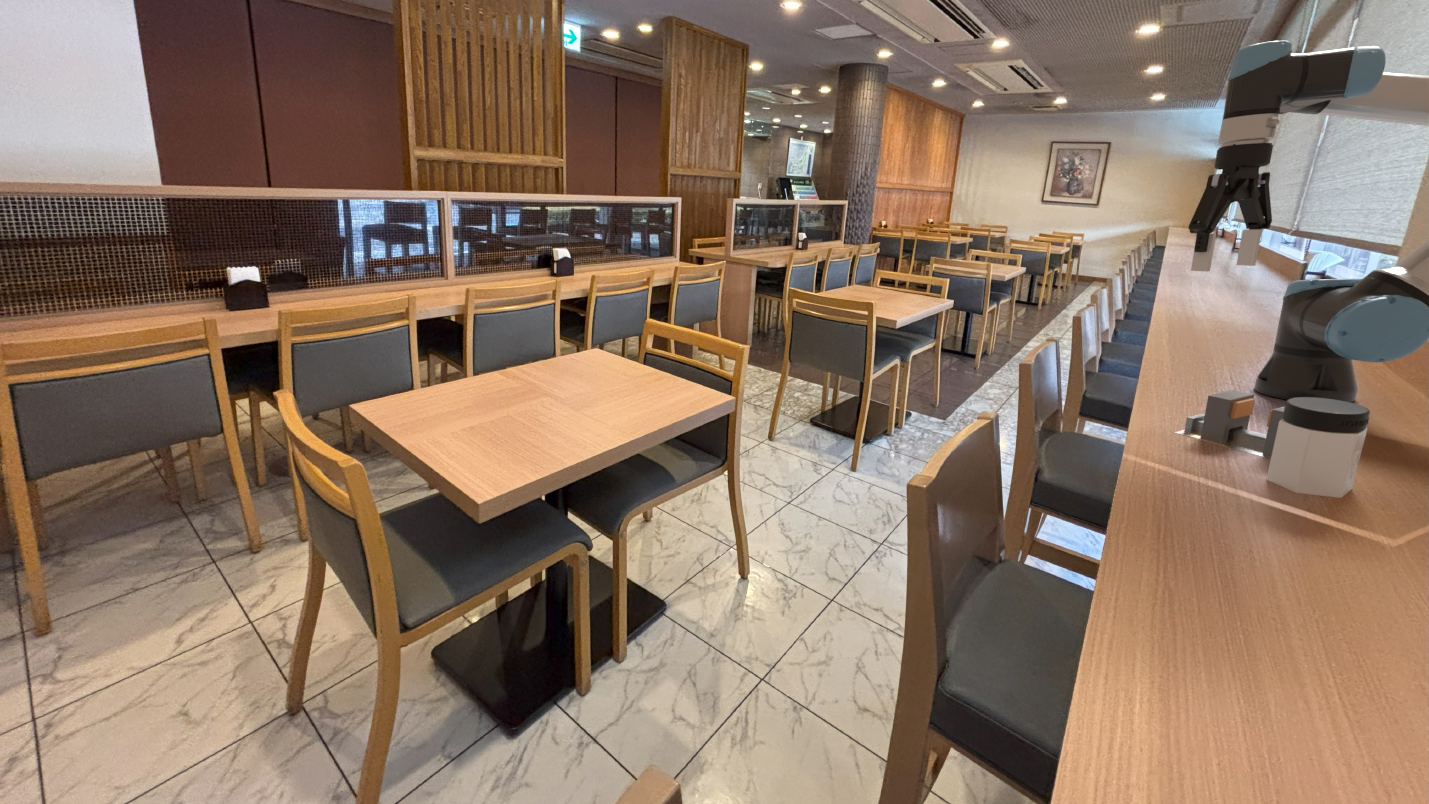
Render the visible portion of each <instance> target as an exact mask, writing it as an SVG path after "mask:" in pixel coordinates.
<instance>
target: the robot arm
mask: <svg viewBox="0 0 1429 804" xmlns="http://www.w3.org/2000/svg"><path fill="white" fill-rule="evenodd" d="M1292 45H1293V44H1292V42H1291V41H1289V40H1273V41H1270V40H1269V41H1266V42H1259V43H1254V44H1250V45H1247V46H1245V47H1243V48H1241V49H1239V50H1238V51H1237V52H1236V53H1235V54H1234V55H1233V58H1232V63H1231V67H1230V70H1229V75H1228V78H1227V87H1226V97H1225V102H1224V109H1223V110H1224V111H1223V116H1222V120H1221V125H1220V131H1219V136H1218V137H1219V138H1218V141H1217V142H1218V145H1221V147H1219V148H1218V149H1217V150H1216V156H1215V163H1214V169H1215V170H1218V171H1221V170H1222V172H1221V173H1213V174H1209V175H1208V178H1207V181H1206V186H1205V189H1204V192H1203V193H1202V196H1201V198H1200V201H1199V203H1198V205H1197V207H1196V209H1195V211H1194V214H1193V216H1192V218H1191V221H1190V222H1189V224H1188V230H1189V233H1190V234H1196V238H1195V242H1194V243H1195V244H1194V249H1193V255H1192V262H1191V267H1190V271H1191V272H1211V267H1212V262H1213V261H1212V260H1213V257H1214V256H1213V255H1214V251H1215V250H1214V249H1215V243H1216V237H1217V233H1216V232H1214V230H1215V229H1216V227H1217V226H1218V225H1219V223H1220V221H1221V219H1222V218H1223V217H1224V215H1225V214H1226V212H1227V211H1228V209H1229V207H1230V206H1231V205H1232V203H1235V202H1237V203H1238V205H1239V208H1240V211H1241V214H1242V218H1243V220H1244V224H1245V228H1246V229H1242V232H1241V236H1240V237H1241V238H1240V244H1239V248H1238V253H1237V254H1238V255H1237V260H1236V265H1235V266H1245V267H1247V266H1249V267H1251V266H1252V267H1254V266H1257V265H1256V264H1257V258H1258V253H1259V248H1260V244H1261V243H1260V242H1261V237H1262V232H1263V230H1265V229H1266V230H1268V229H1270V227H1271V224H1272V223H1273V216H1272V205H1271V204H1272V203H1271V195H1270V194H1271V193H1270V178H1271V172H1270V171H1267V172H1266V171H1264V172H1260V170H1259V169H1260V168H1261V167H1267V166H1269V164H1270V163H1271V159H1272V154H1273V148H1274V144H1273V143H1271V142H1270V140H1273V139H1274V138H1275V135H1276V130H1277V125H1279V124H1280V120H1279V115H1284V114H1287V113H1292V114H1293V113H1294V114H1304V115H1305V114H1306V115H1319V116H1327V117H1328V116H1329V117H1338V118H1346V119H1347V118H1348V119H1358V120H1369V121H1376V122H1378V121H1379V122H1385V123H1394V124H1395V123H1396V124H1405V125H1414V126H1426V127H1429V75H1423V74H1421V75H1420V74H1413V73H1412V74H1410V73H1398V72H1396V73H1395V72H1387V71H1386V72H1385V67H1386V66H1385V65H1386V63H1387V62H1386V53H1385V51H1384V49H1383V48H1382V47H1380V46H1378V45H1377V46H1376V45H1372V46H1370V45H1369V46H1357V45H1356V46H1355V45H1354V46H1353V47H1346V48H1339V49H1338V48H1337V49H1331V50H1322V51H1314V52H1313V51H1312V52H1304V53H1303V52H1301V53H1296V52H1295V53H1293V49H1292V47H1293V46H1292ZM1213 232H1214V233H1213ZM1280 310H1281V311H1280V316H1279V321H1278V325H1277V326H1278V327H1277V331H1276V335H1275V340H1274V341H1275V342H1274V346H1273V349H1272V350H1273V351H1272V353H1271V355H1270V357H1269V358H1268V360H1267V362H1266V363H1265V364H1264V366H1263V368H1262V369H1261V370H1260V372H1259V374H1258V375H1257V376H1256V379H1255V383H1254V388H1253V389H1254V391H1256V392H1258V393H1260V394H1262V395H1266V396H1268V397H1272V398H1278V399H1280V400H1281V399H1282V400H1286V401H1287V400H1288V399H1291V398H1298V397H1315V398H1326V399H1334V400H1341V401H1346V402H1351V403H1354V402H1355V401H1356V398H1357V395H1358V391H1359V388H1358V383H1357V378H1356V373H1355V368H1354V363H1353V361H1360V362H1365V363H1386V362H1387V363H1388V362H1392V361H1395V360H1399V359H1402V358H1405V357H1406V356H1409V355H1412V354H1413V353H1414V352H1416V351H1418V350H1419V349H1420V348H1421V347H1423V346H1424V345H1425V344H1426V343H1427V341H1428V340H1429V238H1428V239H1426V240H1425V241H1424V242H1423V243H1421V244H1419V246H1418V247H1416V248H1415V249H1414V250H1412V251H1411V252H1410V253H1408V255H1406V256H1405V257H1404V258H1402V259H1401V260H1400V261H1399V262H1397V263H1396V264H1395V265H1393V266H1392V267H1387V268H1378V269H1373V270H1372V271H1371V272H1369V273H1368V274H1367V275H1365V276H1364V277H1363V278H1331V279H1329V278H1327V279H1325V278H1324V279H1297V280H1294V281H1291V282H1290V283H1289V284H1288V285H1287V287H1286V290H1285V293H1284V295H1283V297H1282V305H1281V309H1280Z"/></svg>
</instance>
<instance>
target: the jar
mask: <svg viewBox="0 0 1429 804" xmlns="http://www.w3.org/2000/svg"><path fill="white" fill-rule="evenodd" d="M1284 406H1285V409H1284V413H1283V419H1282V420H1280V421H1279V424H1278V429H1277V433H1276V438H1275V442H1274V447H1273V451H1272V456H1271V459H1269V460H1270V461H1269V466H1268V470H1267V475H1266V481H1268V482H1271V483H1273V484H1276V485H1277V486H1280V487H1282V488H1284V489H1286V490H1290V491H1292V492H1293V493H1295V494H1304V495H1312V496H1321V497H1328V498H1338V499H1341V498H1342V499H1343V497H1344V496H1346V495H1347V494H1348V493H1349V492H1350V491H1352V490H1353V485H1354V482H1355V479H1356V474H1357V471H1358V468H1359V467H1358V466H1359V463H1360V459H1361V456H1362V451H1363V448H1364V444H1365V441H1366V437H1367V432H1368V427H1367V426H1368V424H1369V421H1370V414H1371V412H1370V409H1369V408H1367V407H1366V406H1364V405H1361V404H1357V403H1354V402H1346V401H1341V400H1334V399H1326V398H1315V397H1298V398H1291V399H1288V400H1286V401H1285V404H1284Z"/></svg>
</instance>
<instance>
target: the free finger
mask: <svg viewBox="0 0 1429 804" xmlns="http://www.w3.org/2000/svg"><path fill="white" fill-rule="evenodd" d="M1254 397H1255V393H1249V392H1244V391H1239V390H1234V389H1230V390H1226V391H1222V392H1218V393H1214V394H1209V395H1208V397H1207V401H1206V407H1205V413H1204V414H1205V417H1204V422H1203V427H1202V433H1201V437H1204V438H1208V439H1212V440H1215V441H1219V442H1225V441H1227V440H1228V435H1229V430H1230V429H1233V428H1236V427H1238V428H1242V429H1246V430H1248V427H1249V423H1250V422H1249V421H1250V417H1251V416H1252V415H1253V412H1254V411H1253V410H1254V405H1255V402H1256V399H1255V398H1254Z"/></svg>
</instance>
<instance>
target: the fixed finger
mask: <svg viewBox="0 0 1429 804" xmlns="http://www.w3.org/2000/svg"><path fill="white" fill-rule="evenodd" d="M1284 409H1285V405H1284V406H1281V407H1276V408H1273V409H1270V410H1269V414H1268V417H1267V418H1268V419H1267V423H1266V427H1268V428H1267V431H1266V435H1267V436H1266V441H1265V445H1264V450H1263V454H1266V455H1270V456H1272V451H1273V447H1274V442H1275V438H1276V433H1277V429H1278V424H1279V421H1280V420H1282V419H1283V413H1284Z"/></svg>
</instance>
